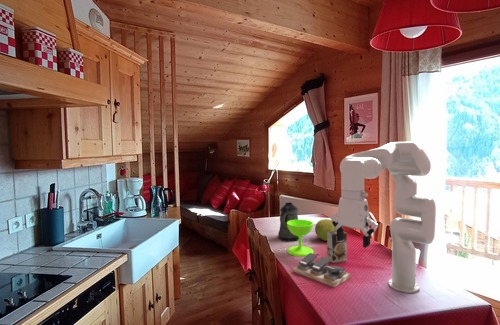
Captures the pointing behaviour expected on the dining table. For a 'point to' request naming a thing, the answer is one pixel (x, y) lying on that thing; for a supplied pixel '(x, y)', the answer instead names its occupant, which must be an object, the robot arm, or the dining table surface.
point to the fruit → (324, 228)
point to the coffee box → (336, 247)
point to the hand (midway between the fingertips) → (352, 243)
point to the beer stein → (286, 215)
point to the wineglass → (300, 236)
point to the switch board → (323, 274)
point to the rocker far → (307, 259)
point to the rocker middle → (320, 264)
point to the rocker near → (334, 268)
